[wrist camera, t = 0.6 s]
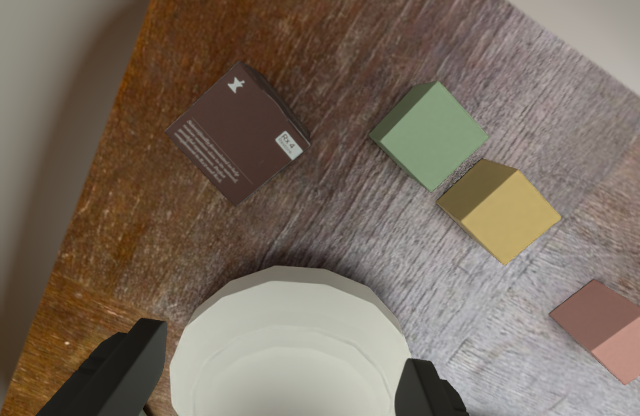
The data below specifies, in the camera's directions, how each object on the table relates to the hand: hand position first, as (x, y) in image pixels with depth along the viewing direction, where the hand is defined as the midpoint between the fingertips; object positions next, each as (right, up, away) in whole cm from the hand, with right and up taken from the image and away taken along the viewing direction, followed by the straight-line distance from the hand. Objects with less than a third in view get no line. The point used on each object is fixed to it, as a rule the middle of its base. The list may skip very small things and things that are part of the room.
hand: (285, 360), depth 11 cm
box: (-4, +11, +15) cm, 19 cm away
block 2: (+14, +6, +17) cm, 23 cm away
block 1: (+8, +11, +15) cm, 20 cm away
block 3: (+26, -5, +20) cm, 33 cm away
